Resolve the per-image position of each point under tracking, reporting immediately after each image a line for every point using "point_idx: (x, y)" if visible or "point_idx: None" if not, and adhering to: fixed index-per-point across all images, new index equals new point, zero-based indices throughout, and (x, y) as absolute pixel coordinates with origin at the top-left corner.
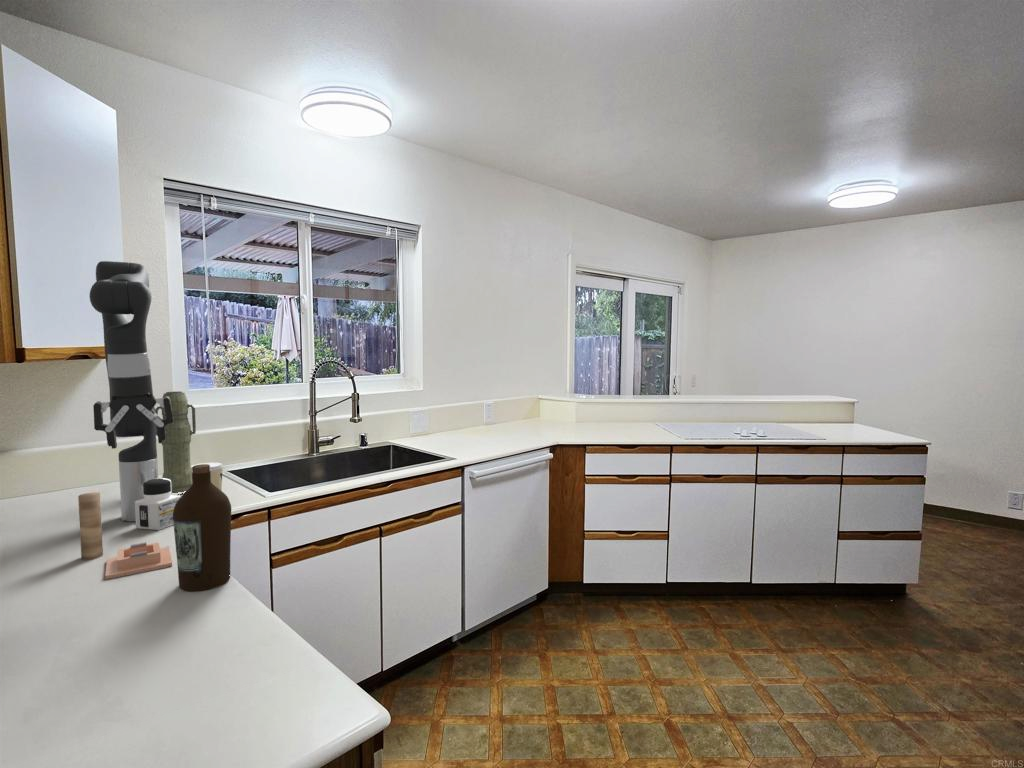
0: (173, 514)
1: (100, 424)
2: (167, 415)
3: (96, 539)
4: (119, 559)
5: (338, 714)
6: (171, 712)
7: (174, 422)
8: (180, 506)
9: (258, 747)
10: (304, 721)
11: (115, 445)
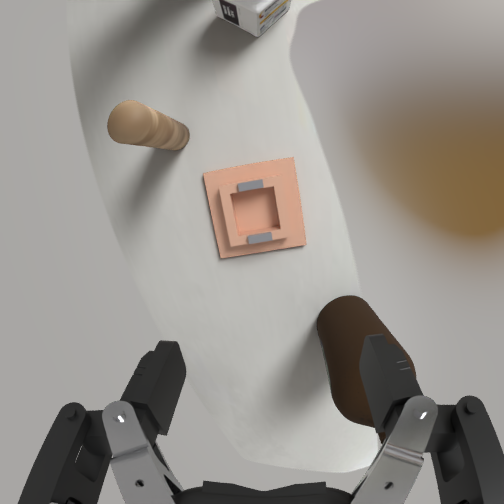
0: (333, 400)
1: (107, 464)
2: (442, 474)
3: (175, 143)
4: (233, 242)
5: (366, 462)
6: (306, 456)
7: None
8: (345, 417)
9: (334, 469)
10: (353, 463)
11: (183, 380)
